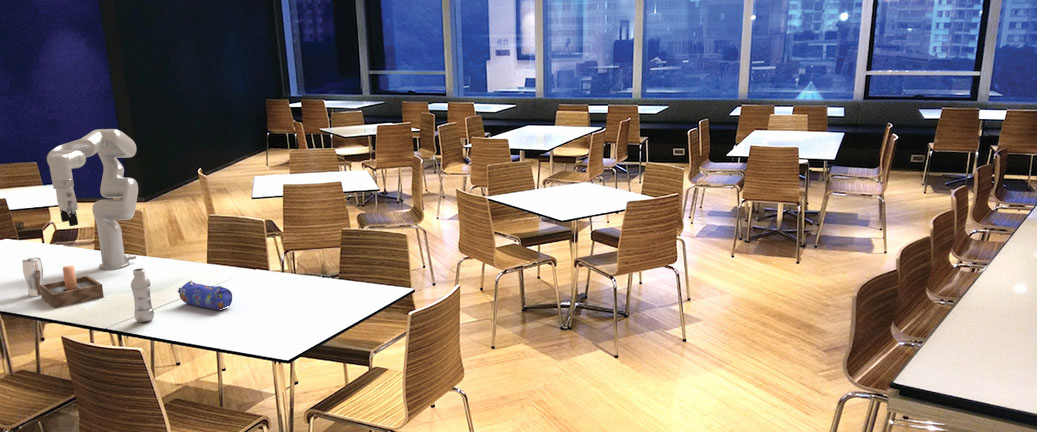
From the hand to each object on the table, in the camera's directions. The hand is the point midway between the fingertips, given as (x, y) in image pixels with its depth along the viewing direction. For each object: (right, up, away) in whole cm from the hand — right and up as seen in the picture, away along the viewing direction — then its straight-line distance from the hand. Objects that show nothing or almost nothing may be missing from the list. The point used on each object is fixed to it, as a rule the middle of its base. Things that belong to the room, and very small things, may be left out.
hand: (70, 223), depth 328 cm
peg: (+6, -29, -9) cm, 31 cm away
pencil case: (+66, -33, -21) cm, 76 cm away
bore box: (+6, -30, -8) cm, 32 cm away
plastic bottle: (+49, -36, -37) cm, 71 cm away
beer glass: (-12, -30, -3) cm, 32 cm away
